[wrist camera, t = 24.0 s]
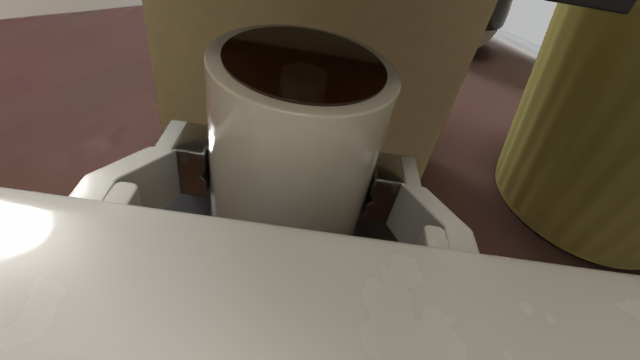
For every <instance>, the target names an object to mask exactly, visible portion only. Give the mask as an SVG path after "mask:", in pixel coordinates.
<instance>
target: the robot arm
mask: <svg viewBox="0 0 640 360" xmlns="http://www.w3.org/2000/svg"><path fill="white" fill-rule="evenodd" d="M209 190H210V180H209V159H208V138H207V125H202V124H197V123H191V122H185V121H178V120H172V121H170V123H169V125H168V126H167V128H166V129H165V131H164V132H163V134H162V136H161V137H160V139H159V140H158V142H157V144H156V145H155V147H148V148H145V149H143V150H141V151H139V152H136V153H134V154H132V155H130V156H127V157H125V158H123V159H121V160H118V161H116V162H114V163H112V164H109V165H107V166H105V167H103V168H100V169H98V170H96V171H94V172H91V173H89V174H87V175H85V176H84V177H83V179H82V180H81V181H80V182H79V184H78V185H77V186H76V187H75V189H74V190H73V191H72V193H71V194H70V195H69V196H62V195H54V194H47V193H40V192H33V191H26V190H18V189H11V188H4V187H0V360H640V275H633V274H626V273H619V272H611V271H604V270H597V269H589V268H582V267H575V266H567V265H560V264H553V263H545V262H538V261H531V260H524V259H517V258H509V257H502V256H495V255H488V254H480V252H479V249H478V246H477V243H476V240H475V237H474V234H473V231H472V230H471V229H470V228H469V227H468V226H467V225H466V224H465V223H464V222H463V221H461V220H460V219H459V218H458V217H457V216H456V215H455V214H454V213H453V212H452V211H451V210H450V209H448V208H447V207H446V206H445V205H444V204H443V203H442V202H441V201H440V200H439V199H438V198H437V197H436V196H434V195H433V194H432V193H431V192H430V191H429V190H428V189H427V188H426V187H422V185H421V181H420V177H419V173H418V168H417V164H416V160H415V157H414V156H407V155H396V154H389V153H382V152H380V156H379V159H378V162H377V165H376V168H375V171H374V174H373V177H372V180H371V183H370V186H369V190H368V193H367V196H366V199H365V202H364V205H363V208H362V219H367V220H373V221H379V222H385V223H386V224H387V226H388V227H389V229H390V230H391V231H392V233H393V234H394V236H395V237H396V239H397V240H398V241H399V242H394V241H387V240H379V239H372V238H365V237H358V236H350V235H343V234H336V233H329V232H322V231H314V230H307V229H300V228H293V227H285V226H278V225H271V224H264V223H257V222H249V221H242V220H235V219H228V218H220V217H213V216H206V215H199V214H192V213H184V212H177V211H170V210H163V208H164V207H166V206H167V205H168V204H170V203H171V202H172V201H174V200H175V199H176V198H178V197H179V196H180V195H181V194H188V195H196V196H205V197H207V195H208V192H209Z"/></svg>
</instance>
